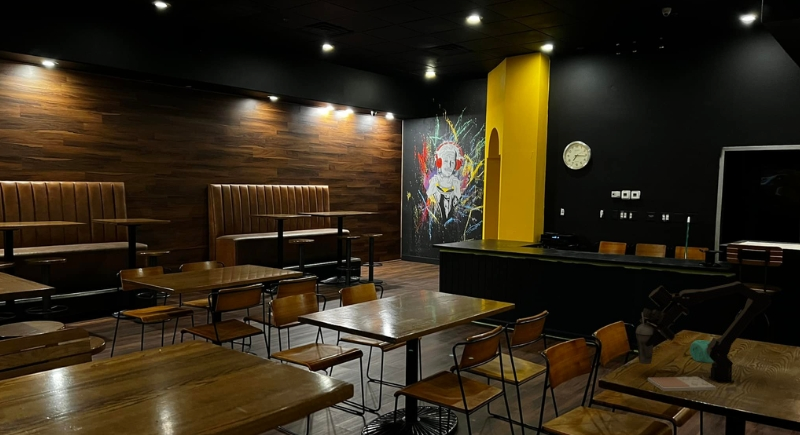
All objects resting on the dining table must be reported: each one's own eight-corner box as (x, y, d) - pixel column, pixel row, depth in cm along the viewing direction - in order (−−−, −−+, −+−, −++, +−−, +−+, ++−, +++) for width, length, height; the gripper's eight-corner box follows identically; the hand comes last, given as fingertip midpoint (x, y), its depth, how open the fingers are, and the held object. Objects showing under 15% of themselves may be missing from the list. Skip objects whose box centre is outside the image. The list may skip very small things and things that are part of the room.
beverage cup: (657, 365, 226) (657, 314, 225) (637, 364, 227) (637, 314, 227) (652, 360, 233) (653, 311, 232) (633, 359, 235) (633, 310, 234)
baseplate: (697, 379, 226) (697, 374, 226) (716, 390, 214) (716, 384, 214) (647, 380, 225) (647, 375, 225) (663, 391, 213) (663, 385, 213)
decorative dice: (689, 358, 256) (689, 340, 256) (704, 357, 258) (704, 339, 258) (703, 363, 248) (703, 345, 248) (718, 362, 250) (718, 343, 250)
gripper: (644, 297, 239) (617, 324, 239) (667, 305, 220) (638, 335, 220) (662, 315, 240) (636, 343, 239) (687, 325, 221) (658, 355, 221)
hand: (641, 343), depth 230 cm, fingers closed on beverage cup, 7 cm apart
